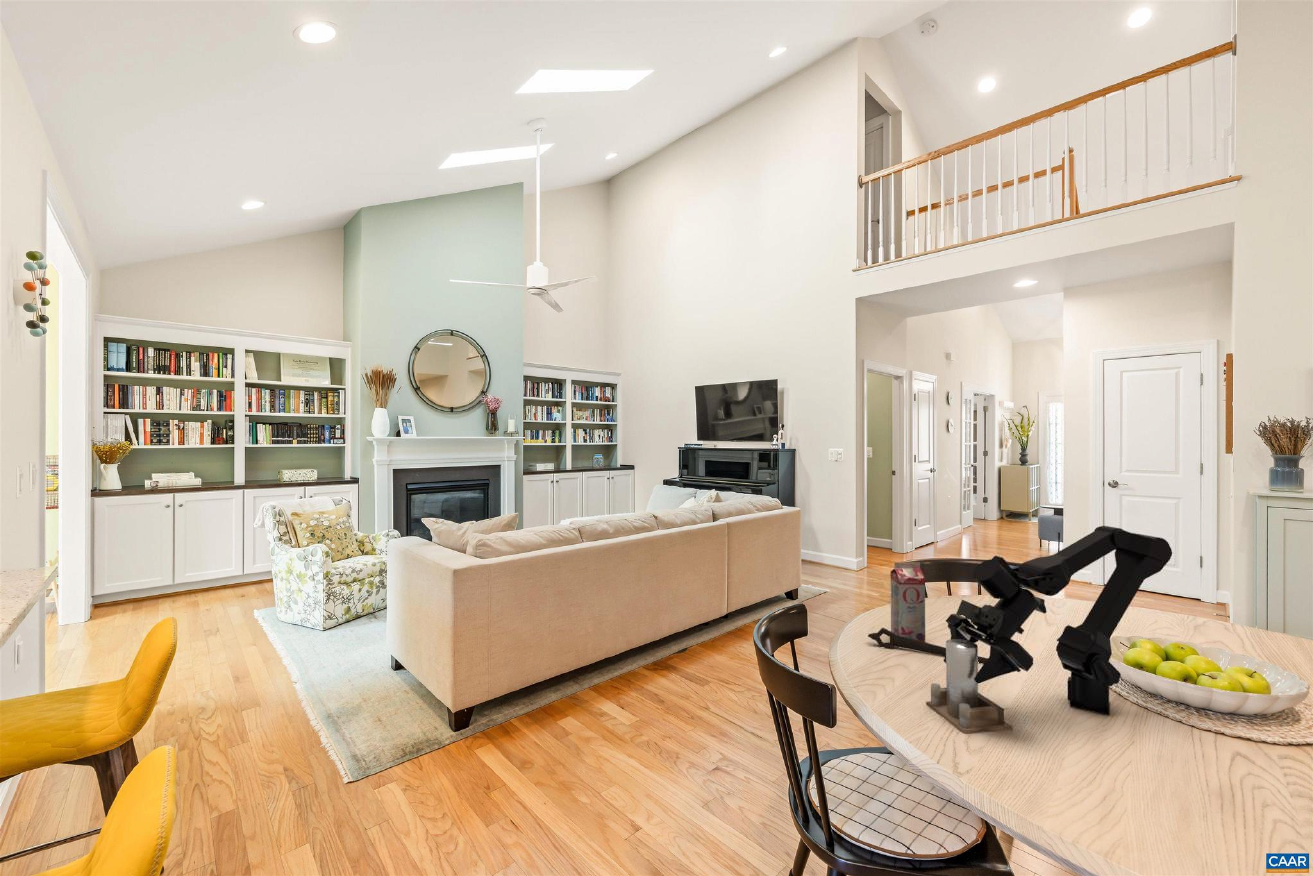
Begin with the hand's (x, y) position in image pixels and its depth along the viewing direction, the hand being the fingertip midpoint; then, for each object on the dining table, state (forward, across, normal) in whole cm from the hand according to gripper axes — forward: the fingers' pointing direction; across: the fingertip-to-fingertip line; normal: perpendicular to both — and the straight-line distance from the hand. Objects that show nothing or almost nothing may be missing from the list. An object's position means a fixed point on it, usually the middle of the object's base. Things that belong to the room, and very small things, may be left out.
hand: (960, 671), depth 116 cm
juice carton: (-2, -39, +16) cm, 42 cm away
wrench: (-2, -30, +16) cm, 34 cm away
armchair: (+5, 0, +7) cm, 9 cm away
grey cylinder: (+6, 0, +6) cm, 8 cm away
